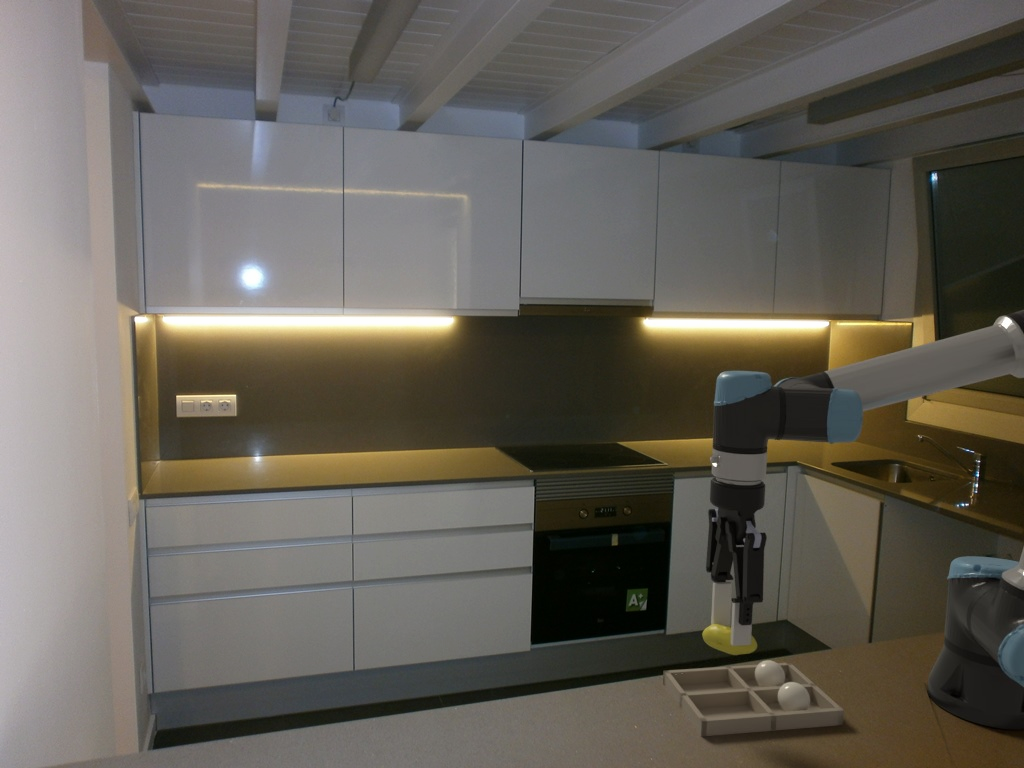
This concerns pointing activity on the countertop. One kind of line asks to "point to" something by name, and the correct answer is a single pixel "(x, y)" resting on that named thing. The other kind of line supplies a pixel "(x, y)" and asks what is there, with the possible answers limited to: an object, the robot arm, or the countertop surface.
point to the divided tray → (745, 701)
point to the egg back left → (793, 697)
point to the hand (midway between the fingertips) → (730, 633)
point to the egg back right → (769, 674)
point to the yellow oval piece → (725, 640)
